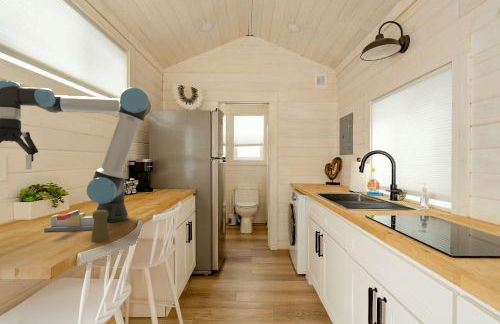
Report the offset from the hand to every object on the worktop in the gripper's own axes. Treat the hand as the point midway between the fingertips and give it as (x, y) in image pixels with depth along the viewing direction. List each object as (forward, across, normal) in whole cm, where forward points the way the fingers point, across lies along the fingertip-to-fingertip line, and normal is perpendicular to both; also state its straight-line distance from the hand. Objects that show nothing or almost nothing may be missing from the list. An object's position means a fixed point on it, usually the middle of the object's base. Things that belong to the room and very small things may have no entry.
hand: (10, 169), depth 111 cm
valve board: (+26, -13, +20) cm, 36 cm away
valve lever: (+20, -8, +24) cm, 32 cm away
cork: (+27, -4, +45) cm, 53 cm away
